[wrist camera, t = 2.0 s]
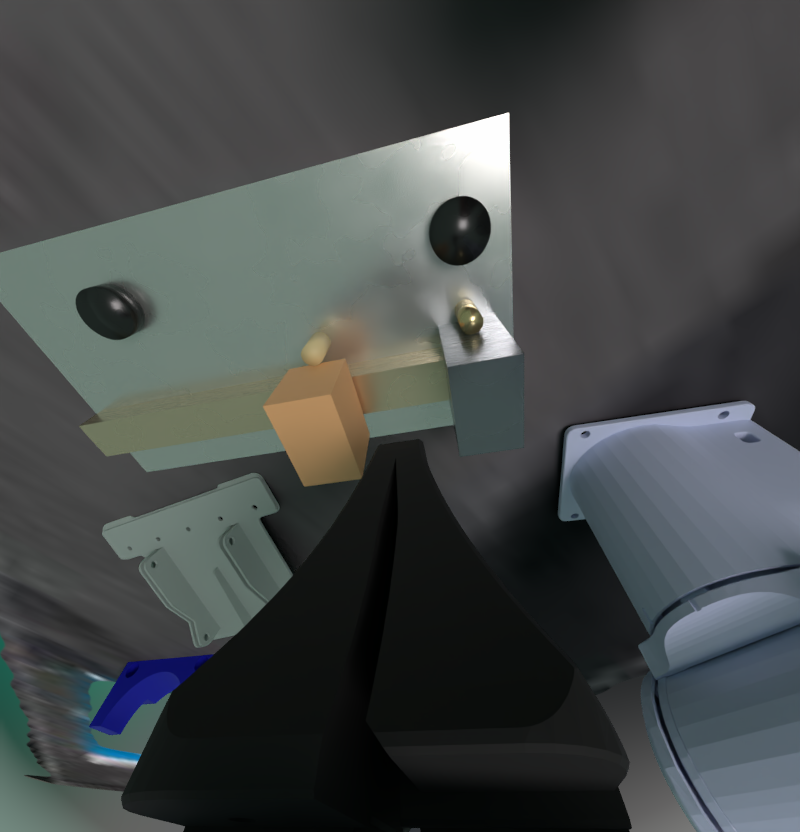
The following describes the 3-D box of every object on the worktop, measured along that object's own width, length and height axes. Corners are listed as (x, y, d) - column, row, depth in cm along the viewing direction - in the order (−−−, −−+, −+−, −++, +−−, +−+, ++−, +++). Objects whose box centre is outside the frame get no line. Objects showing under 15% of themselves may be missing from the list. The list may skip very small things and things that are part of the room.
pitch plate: (500, 120, 12) (560, 67, 7) (508, 403, 18) (542, 473, 13) (-4, 257, 14) (-195, 284, 10) (159, 459, 21) (89, 531, 16)
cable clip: (153, 674, 42) (118, 738, 37) (129, 660, 40) (88, 726, 35) (235, 667, 40) (210, 734, 35) (215, 652, 38) (185, 721, 33)
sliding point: (344, 326, 14) (321, 370, 11) (372, 418, 17) (362, 478, 13) (291, 337, 15) (250, 383, 11) (326, 425, 17) (304, 486, 14)
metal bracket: (336, 644, 23) (177, 673, 27) (357, 579, 28) (223, 611, 32) (232, 471, 19) (66, 532, 23) (279, 435, 25) (139, 489, 29)
